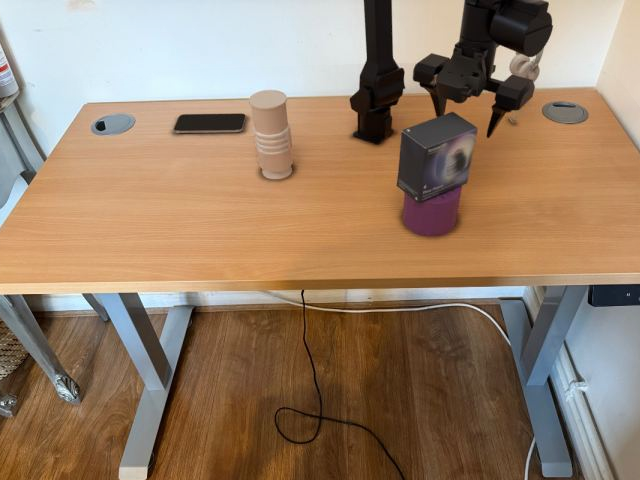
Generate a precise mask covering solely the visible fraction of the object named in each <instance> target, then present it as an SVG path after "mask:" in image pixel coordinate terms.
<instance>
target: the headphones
mask: <svg viewBox="0 0 640 480" xmlns="http://www.w3.org/2000/svg"><path fill="white" fill-rule="evenodd" d="M544 51H545V47H544V48H543V49H542V50H541V51H540V52H539V53H538V54H537V55H536V56H535V58H533V60H531V57H527V56H525V55H522V54H520V53H518V52H515V55H514V56H513V57H512V59H511V60H510V63H509V72H510V74H511V75H516V76H520V77H524V78H527V79H531V80H533V83H534V84H535V82H536V81H537V79H538V78H539V76H540V71H541V69H540V65H539V64H540V62H541V59H542V57H543V54H544ZM514 112H515V119H514V121H513V120H512V118H511V116H509V117H508V118H509V121H510V123H513V124H515V123H516V121H517V119H518V113H517V110H516V111H514Z"/></svg>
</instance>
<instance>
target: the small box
mask: <svg viewBox="0 0 640 480" xmlns="http://www.w3.org/2000/svg"><path fill="white" fill-rule="evenodd" d="M478 130H479V127H477V126H476V125H475V124H473V123H471V122H470V121H468V120H466V119H465V118H464V117H462V116H460V115H459V114H457V113H456V112H454V111H451V112H448V113H444V115H442V116H439V117H437V116H436V117H434V118H431V119H428V120H426V121H423V122H420V123H417V124H415V125H414V124H413V125H412V126H409V127H406V128H403V129H402V130H401V132H400V134H401V135H400V146H399V158H398V169H397V170H398V171H397V177H396V179H397V180H396V187H397V188H399V190H401V191H402V192H404V194H405V193H406V194H407V195H408V196H410V197H411V198H412V199H413V200H414V201H416V202H417V203H418V204H419V203H422V202H424V201H426V200H429V199H431V198H433V197H436V196H438V195H441V194H443V193H445V192H448V191H450V190H452V189H455V188H457V187H460V186H462V187H463V186H464V185H467V184H468V182H469V176H470V171H471V166H472V161H473V155H474V150H475V145H476V141H477V135H478Z"/></svg>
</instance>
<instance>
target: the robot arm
mask: <svg viewBox="0 0 640 480" xmlns="http://www.w3.org/2000/svg"><path fill="white" fill-rule="evenodd" d="M549 6H550V4H549V1H546V0H464V2H463V9H462V10H463V11H462V16H461V24H460V31H459V39H458V41H457V42H456V43H455V44H454V48H453V50H452V55H451V57H448V56H444V55H440V54H436V53H433V52H430V54H428V55H427V56H425V57H424V58H422V59H421V60H419V61H418V62H416V63H415V64H414V67H413V70H412V71H413V72H412V80H413V82H414V83H418V86H420V88H422V89H424V90H426V91H427V92H428V93H429V95H430V98H431V101H432V105H433V109H434V113H435V116H436V118H437V117H439V116H442V115H445V114H446V108H447V103H448V100H449V101H452V102H454V103H455V104H463V103H466V101H467V100H468V98H471V97H475V98H479V97H480V96H481V94H482V93H483V92H484V91H486V92H489V93H492V94H495V95H494V101H495V103H493V104H492V105H491V111H492V113H491V115H490V120H489V123H488V127H487V130H486V139H490V138H491V137H492V136H493V134H494V132H495V131H496V129H497V128H498V126H499V125H500V123H501V121H502V120H503V119H504V117H505V115H506V114H508V113H511V112H515V111H516V112H517V111H520V110H521V109H522V108H523V107H524V106H525V105H526V104H528V102H529V101H530V100H531V99H532V98H534V93H535V88H536V86H535V82H534V83H533V80H531V79H527V78H524V77H520V76H516V75H513V74H510V76H508V77H507V78H506V79H504V81H503V80H500V79H496V78H493V77H492V75H493V74H494V73H495V72H496V68H497V65H496V64H495V58H496V53H497V48H499V47H500V46H501V47H504V48H505V49H508V50H511V51H513V52H515V53H516V52H518V53H520V54H522V55H525V56H527V57H529V58H533V57H536V55H537V54H538V53H539V52H540V51H541V50H542V49H543V48H544V49H545V47H546V46H547V43H548V42H549V40H550V38H551V36H552V32H553V29H554V28H553V27H554V25H553V17H552V14H551V13H550V12H548V10H549ZM363 13H364V15H363V16H364V31H365V32H364V33H365V51H366V60H365V63H364V64H363V67H362V70H361V71H360V74H359V82H358V84H359V85H358V90H357V91H356V92H355V93H354V94H353V95H352V96H351V97H349V104H350V109H351V110H352V111H353V112H355V113H356V114H357V129H356V130H355V131H354V132H353V133H352V137H354V138H358V139H359V140H363V141H366V142H369V143H371V144H374V145H380V144H381V143H382V142H383V141H384V140H386V139H388V138H389V137H390V136H391V135H392V134H393V133H395V129H393V115H391V114H392V107H394V106H397V105H398V103H399V100H400V99H401V97H402V96H403V94H404V90H405V89H406V85H405V69H404V68H403V67H399V66H400V65H398V63H397V62H396V61H395V59H394V41H393V40H394V39H393V38H394V36H393V35H394V34H393V33H394V32H393V0H363Z"/></svg>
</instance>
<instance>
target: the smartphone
mask: <svg viewBox="0 0 640 480" xmlns="http://www.w3.org/2000/svg"><path fill="white" fill-rule="evenodd" d="M246 119H247V117H246V114H245V113H241V112H240V113H239V112H238V113H183V114H180V115H179V116H178V118H177V120H176V123H175V125H174V127H173V132H174V133H176V134H200V133H201V134H204V133H205V134H207V133H208V134H209V133H211V134H212V133H214V134H215V133H240V132H242V131H243V129H244V126H245V121H246Z"/></svg>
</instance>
